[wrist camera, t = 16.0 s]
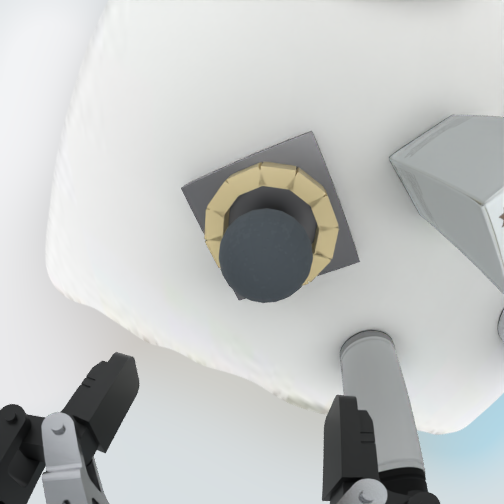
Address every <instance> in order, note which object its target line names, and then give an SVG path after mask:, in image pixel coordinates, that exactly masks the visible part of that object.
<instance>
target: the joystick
mask: <svg viewBox="0 0 504 504" xmlns="http://www.w3.org/2000/svg"><path fill="white" fill-rule="evenodd" d="M181 189H182V191H183V193H184V195H185V197H186V199H187V201H188V203H189V205H190V207H191V209H192V211H193V213H194V215H195V217H196V219H197V221H198V223H199V225H200V227H201V229H202V231H203V233H204V235H205V239H206V241H205V243H206V245H207V246H208V248H209V250H210V252H211V254H212V256H213V258H214V260H215V262H216V264H217V266H218V267H219V268H221V267H220V263H219V249H220V242H221V240H222V238H223V236H224V234H225V232H226V230H227V228H228V227H229V226H230V225H231V224H232V223H233V222H234V221H235V220H236V219H237V218H238V217H239V216H241V215H243V214H246V213H248V212H250V211H252V210H257V209H265V208H269V209H274V210H279V211H283V212H284V213H286V214H288V215H290V216H292V217H294V218H295V219H296V220H297V221H298V222H299V223H300V224H301V225H302V226H303V227H304V228H305V230H306V232H307V234H308V237H309V239H310V241H311V244H312V253H313V261H312V265H311V269H310V273H309V276H308V277H307V279H306V280H305V282H304V283H303V285H305V284H308V281H309V282H311V281H312V280H313V279H314V278H315V277H316V276H319V275H322V274H325V273H328V272H331V271H334V270H337V269H340V268H343V267H346V266H349V265H352V264H355V263H357V262H360V261H359V258H358V255H357V252H356V248H355V245H354V242H353V239H352V236H351V233H350V230H349V227H348V224H347V221H346V218H345V216H344V213H343V210H342V207H341V204H340V201H339V199H338V196H337V193H336V190H335V188H334V185H333V182H332V180H331V177H330V175H329V172H328V169H327V167H326V164H325V162H324V159H323V157H322V154H321V152H320V149H319V147H318V144H317V142H316V139H315V137H314V135H313V132H312V131H311V132H308V133H305V134H303V135H300V136H297V137H295V138H292V139H290V140H287V141H285V142H282V143H280V144H277V145H275V146H272V147H270V148H267V149H265V150H262V151H260V152H258V153H255V154H253V155H250V156H248V157H246V158H243V159H241V160H239V161H236V162H234V163H232V164H230V165H227V166H225V167H223V168H221V169H218V170H216V171H214V172H212V173H210V174H207V175H205V176H203V177H201V178H199V179H197V180H195V181H192V182H190V183H188V184H186V185H184V186H183V187H182V188H181ZM233 290H234V289H233ZM234 292H235V294H236V296H237V298H238V300H242V299H245V297H243V296H241V295H239V294H238V293H237V292H236V291H235V290H234Z"/></svg>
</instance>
